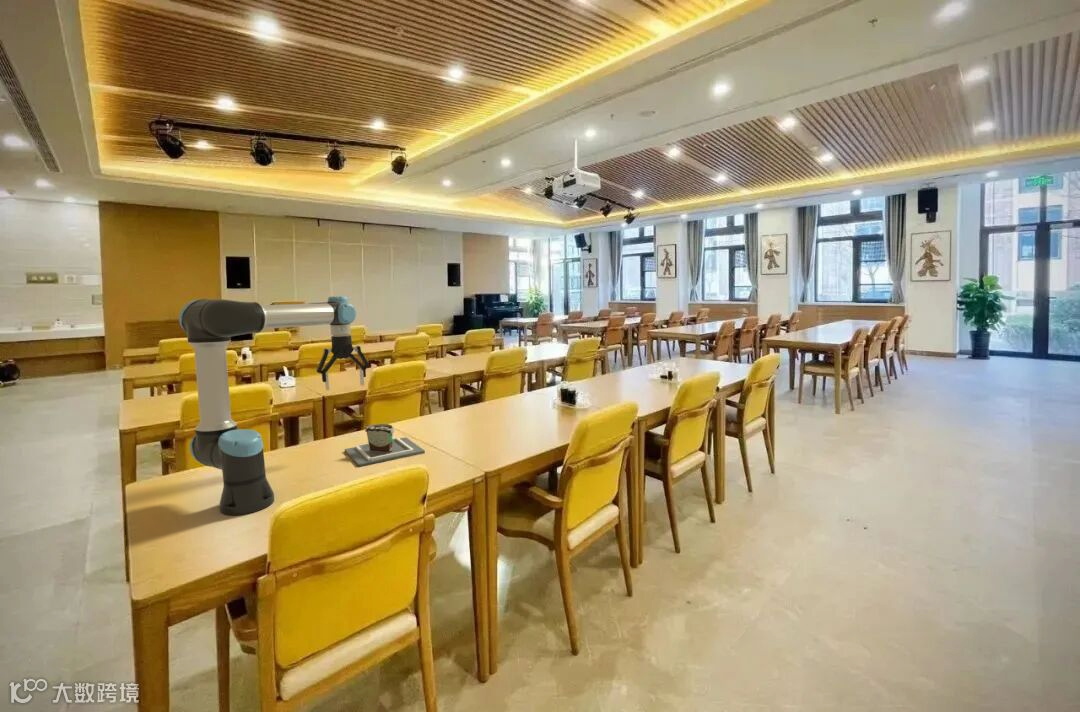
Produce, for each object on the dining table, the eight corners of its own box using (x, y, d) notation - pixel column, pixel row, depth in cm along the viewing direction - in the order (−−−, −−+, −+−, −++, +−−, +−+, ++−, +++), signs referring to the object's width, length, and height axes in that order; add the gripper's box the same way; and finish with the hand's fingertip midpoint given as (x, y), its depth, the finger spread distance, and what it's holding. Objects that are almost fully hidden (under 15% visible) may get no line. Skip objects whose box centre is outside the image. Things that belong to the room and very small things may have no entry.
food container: (401, 448, 215) (400, 424, 213) (393, 453, 209) (391, 429, 208) (375, 446, 219) (374, 422, 217) (366, 450, 213) (364, 427, 211)
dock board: (359, 466, 198) (358, 461, 197) (344, 451, 216) (344, 446, 215) (424, 452, 212) (424, 448, 212) (406, 439, 230) (405, 435, 230)
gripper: (309, 338, 199) (314, 393, 202) (375, 333, 212) (378, 384, 216) (305, 337, 205) (310, 390, 208) (370, 332, 219) (373, 382, 222)
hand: (345, 387), depth 212 cm, fingers open, 13 cm apart
